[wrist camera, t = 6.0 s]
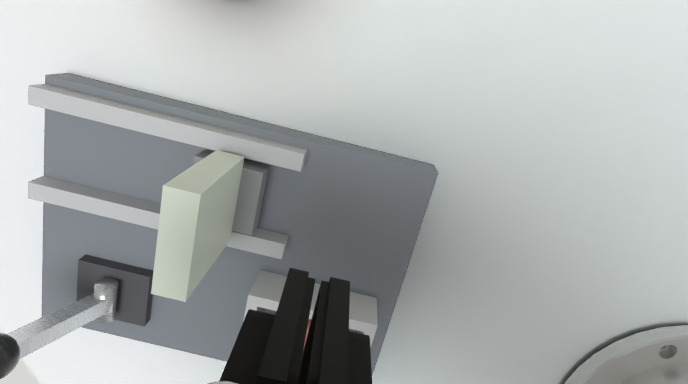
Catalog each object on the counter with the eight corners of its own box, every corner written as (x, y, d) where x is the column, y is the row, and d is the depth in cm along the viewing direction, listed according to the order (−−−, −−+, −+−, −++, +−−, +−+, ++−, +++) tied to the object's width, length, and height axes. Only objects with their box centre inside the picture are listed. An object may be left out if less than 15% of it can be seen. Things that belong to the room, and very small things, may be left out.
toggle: (128, 286, 21) (-22, 360, 15) (125, 320, 22) (-20, 403, 16) (102, 272, 22) (-53, 338, 16) (99, 305, 22) (-50, 380, 16)
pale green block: (271, 155, 19) (229, 201, 13) (256, 234, 21) (211, 308, 15) (206, 139, 19) (134, 178, 13) (194, 219, 20) (124, 287, 15)
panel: (433, 164, 21) (447, 188, 17) (366, 374, 25) (365, 429, 21) (68, 73, 20) (3, 78, 17) (60, 302, 25) (7, 345, 21)
